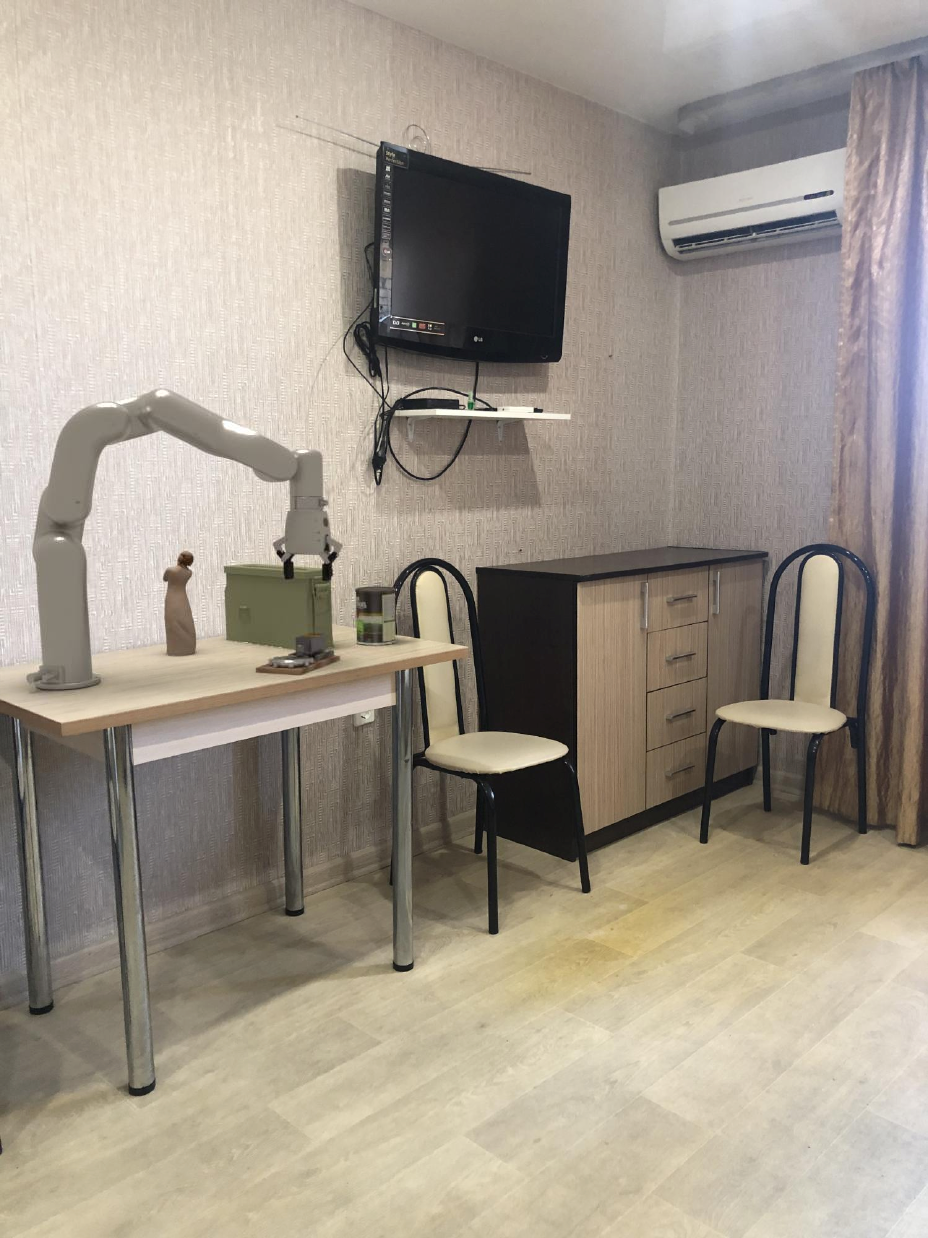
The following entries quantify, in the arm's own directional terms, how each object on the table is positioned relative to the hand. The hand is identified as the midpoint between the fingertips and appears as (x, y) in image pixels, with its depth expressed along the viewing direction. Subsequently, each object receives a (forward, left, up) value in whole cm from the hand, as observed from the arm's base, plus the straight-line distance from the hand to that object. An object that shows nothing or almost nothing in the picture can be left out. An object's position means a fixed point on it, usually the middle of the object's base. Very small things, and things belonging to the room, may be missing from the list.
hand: (307, 579), depth 227 cm
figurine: (+1, +36, -19) cm, 41 cm away
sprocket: (-9, 0, -18) cm, 20 cm away
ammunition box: (+21, +20, -19) cm, 35 cm away
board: (-5, 0, -19) cm, 20 cm away
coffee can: (+30, -3, -19) cm, 35 cm away
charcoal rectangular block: (0, 0, -18) cm, 18 cm away
